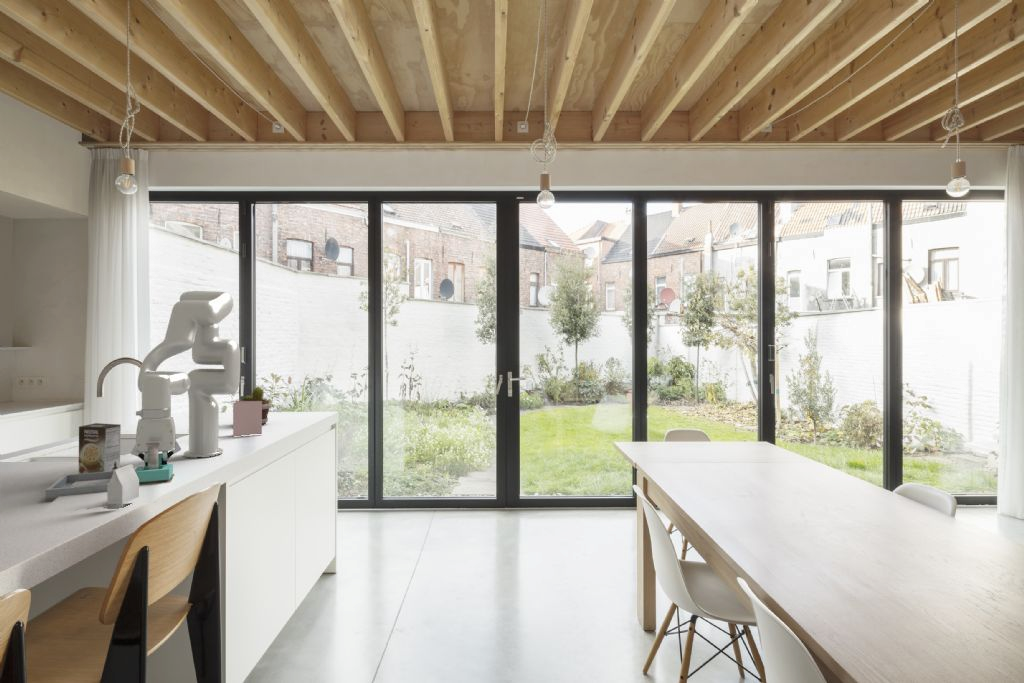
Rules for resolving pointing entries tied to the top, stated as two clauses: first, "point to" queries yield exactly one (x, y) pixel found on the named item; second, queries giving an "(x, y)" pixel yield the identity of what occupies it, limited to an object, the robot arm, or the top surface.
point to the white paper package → (122, 487)
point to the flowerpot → (258, 396)
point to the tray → (66, 481)
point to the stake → (154, 462)
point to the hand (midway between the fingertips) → (156, 473)
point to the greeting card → (247, 418)
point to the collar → (155, 472)
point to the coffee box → (99, 447)
